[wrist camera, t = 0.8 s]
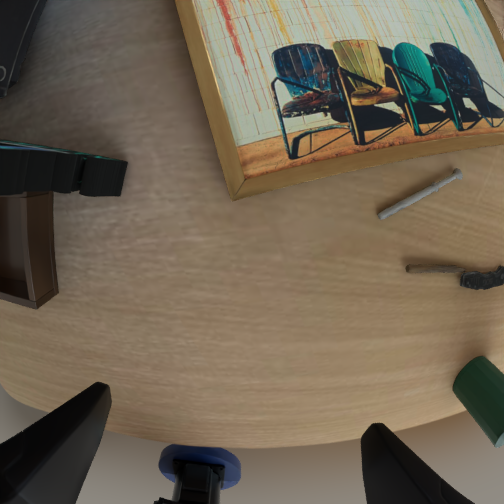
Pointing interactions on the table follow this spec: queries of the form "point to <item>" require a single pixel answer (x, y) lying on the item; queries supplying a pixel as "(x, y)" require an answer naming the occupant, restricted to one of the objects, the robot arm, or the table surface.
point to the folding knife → (482, 279)
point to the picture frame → (342, 84)
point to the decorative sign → (57, 171)
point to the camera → (16, 37)
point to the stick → (433, 269)
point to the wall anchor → (420, 194)
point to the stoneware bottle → (483, 396)
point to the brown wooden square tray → (27, 249)
